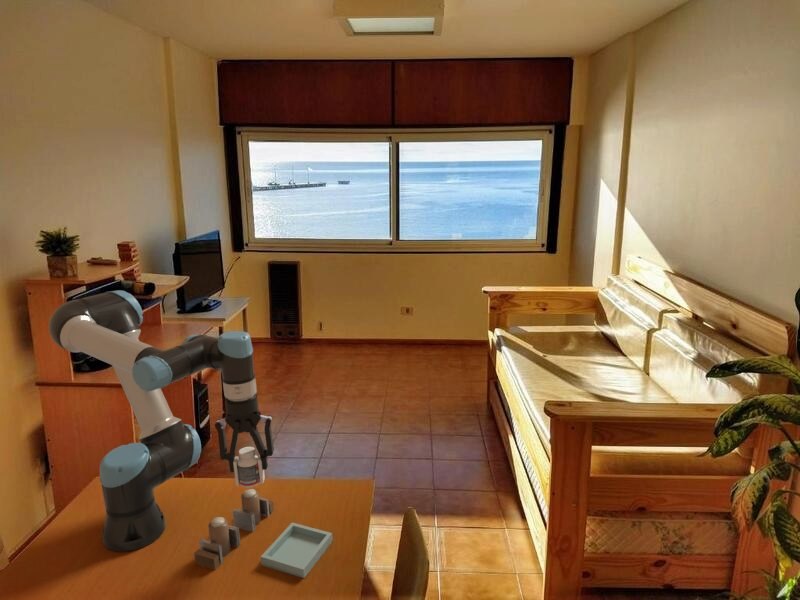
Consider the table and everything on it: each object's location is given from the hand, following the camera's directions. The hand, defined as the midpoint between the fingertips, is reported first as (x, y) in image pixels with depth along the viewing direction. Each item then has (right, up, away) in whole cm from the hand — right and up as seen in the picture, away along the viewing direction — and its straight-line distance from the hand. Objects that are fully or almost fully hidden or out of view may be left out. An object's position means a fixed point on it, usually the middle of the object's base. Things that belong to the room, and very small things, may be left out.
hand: (250, 481), depth 144 cm
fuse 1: (-8, -18, +1) cm, 20 cm away
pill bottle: (0, -1, 0) cm, 0 cm away
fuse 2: (-3, -15, +13) cm, 20 cm away
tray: (+12, -18, 0) cm, 22 cm away
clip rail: (-5, -16, +7) cm, 19 cm away
